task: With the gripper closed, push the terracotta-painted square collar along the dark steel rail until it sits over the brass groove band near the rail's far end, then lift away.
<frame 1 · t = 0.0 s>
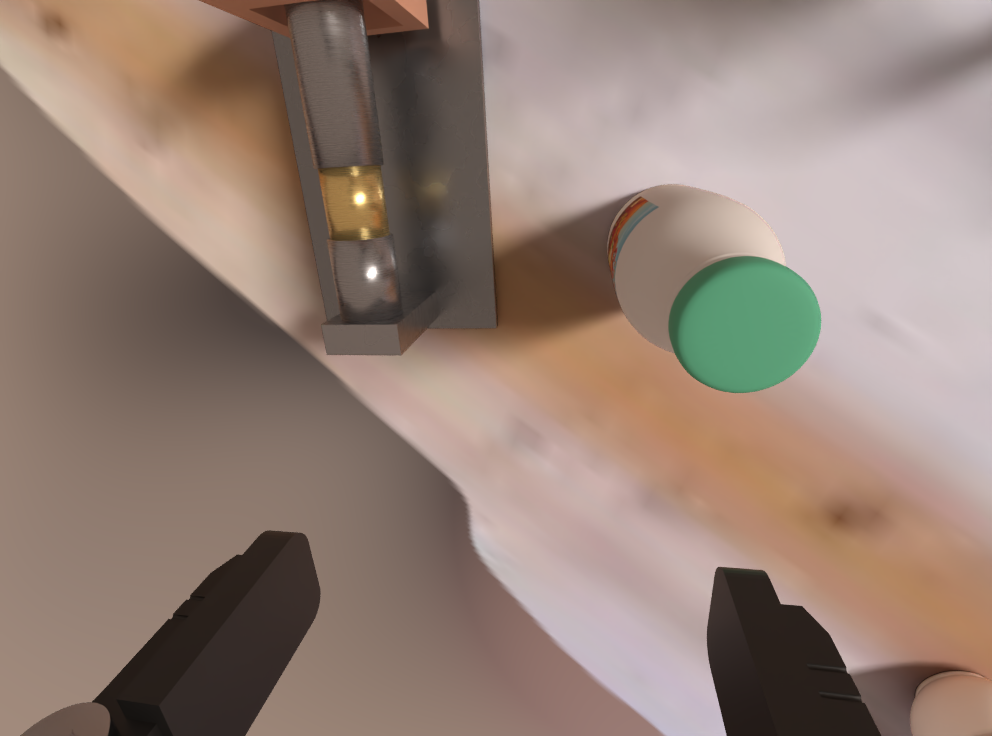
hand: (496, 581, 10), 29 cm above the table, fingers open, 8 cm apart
lidded jar: (952, 692, 45), on the table
milk bottle: (662, 242, 35), on the table
rail: (384, 103, 34), on the table
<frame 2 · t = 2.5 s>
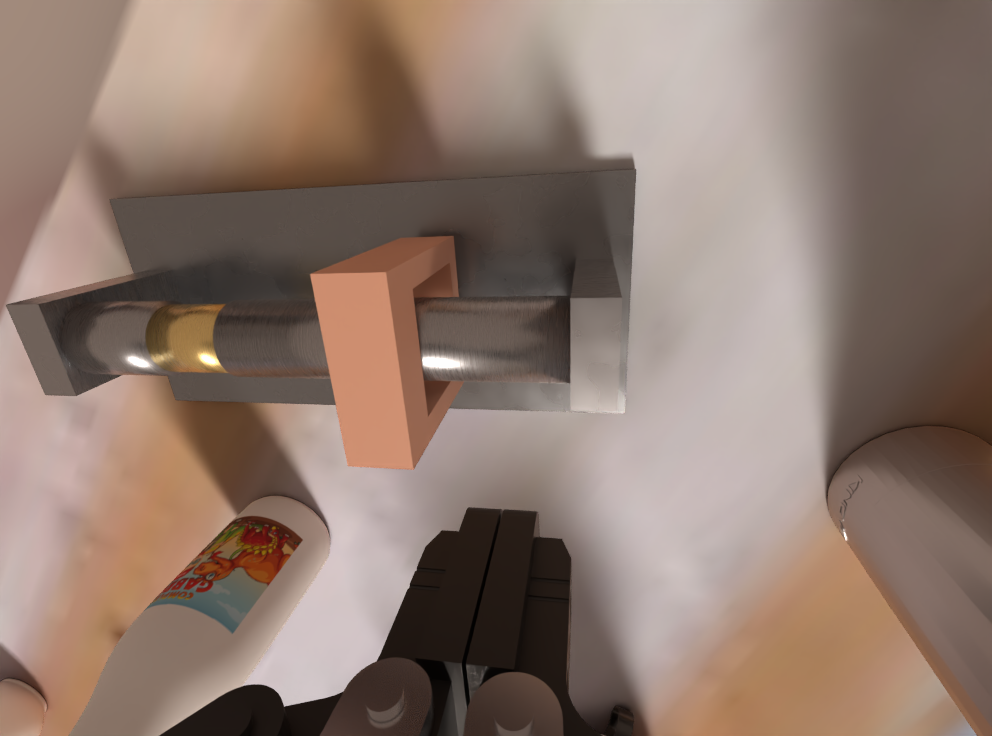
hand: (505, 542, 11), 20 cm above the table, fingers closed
lidded jar: (25, 694, 58), on the table
collar: (406, 338, 24), point 7 cm above the table, slide at 0.0 cm
milk bottle: (290, 529, 41), on the table
rail: (368, 302, 31), on the table
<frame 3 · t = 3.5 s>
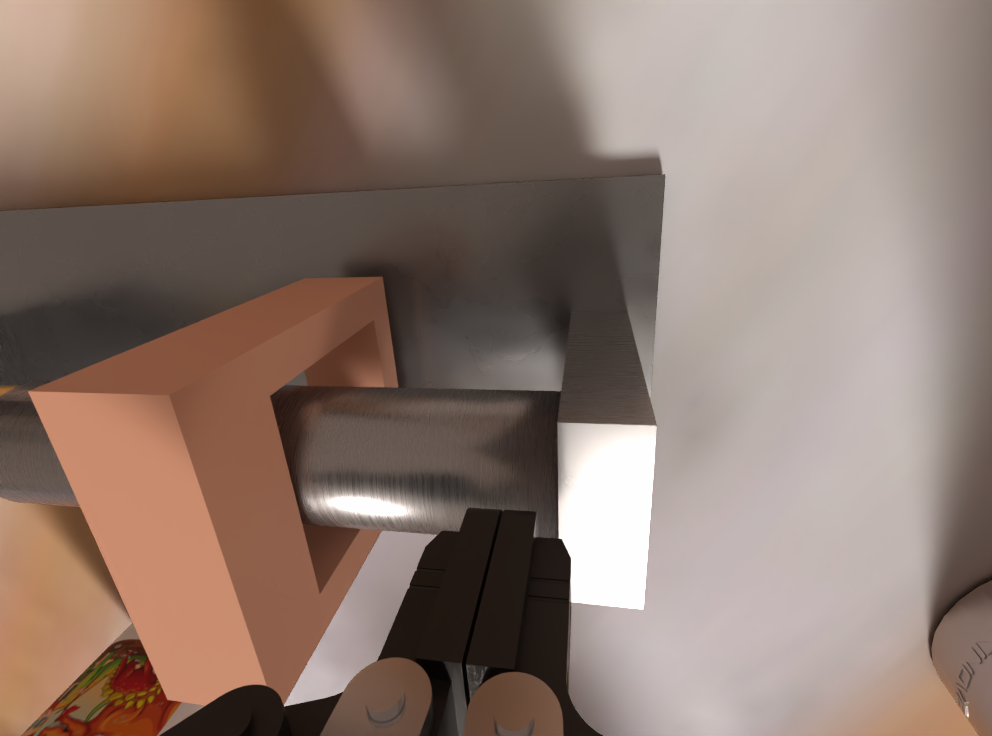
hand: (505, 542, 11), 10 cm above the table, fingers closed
collar: (293, 451, 15), point 7 cm above the table, slide at 0.0 cm
milk bottle: (202, 640, 31), on the table
rail: (276, 363, 22), on the table
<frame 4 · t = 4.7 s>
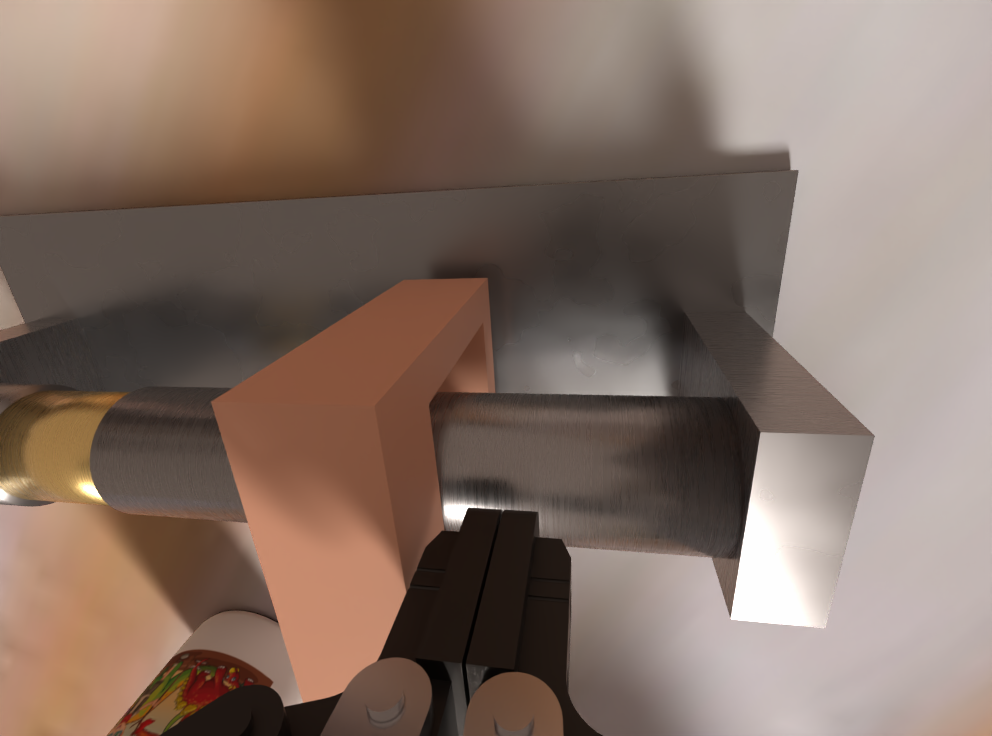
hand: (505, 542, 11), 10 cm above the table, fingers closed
collar: (414, 460, 14), point 7 cm above the table, slide at 0.2 cm, touching gripper
milk bottle: (261, 649, 31), on the table
rail: (361, 367, 21), on the table
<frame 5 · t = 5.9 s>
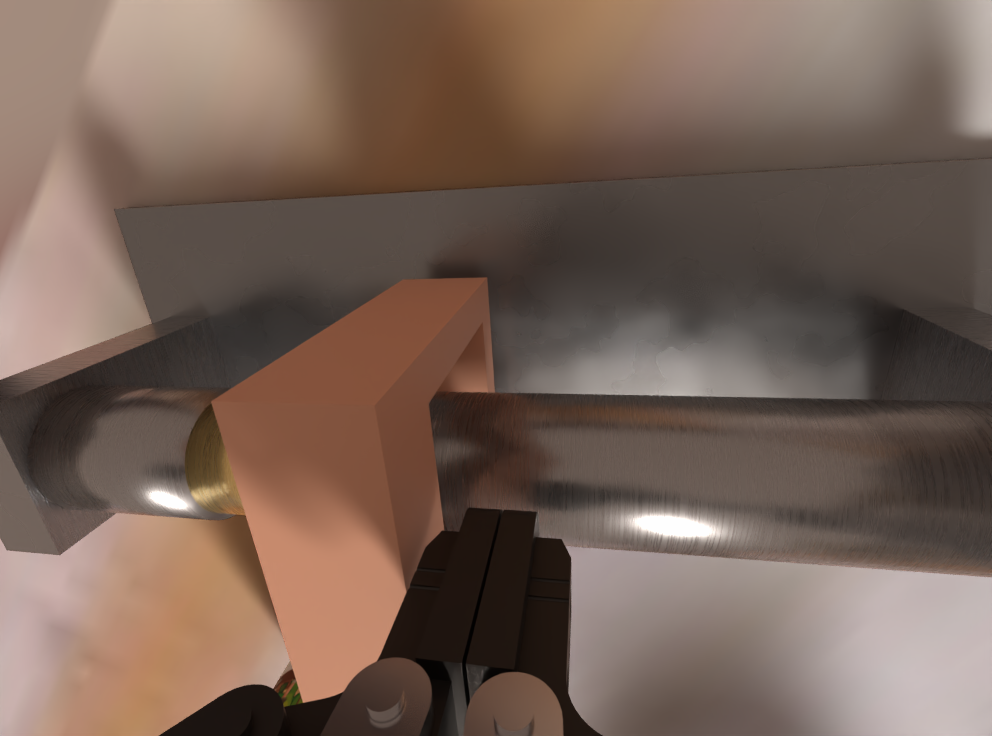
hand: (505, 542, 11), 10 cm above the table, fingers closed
collar: (414, 459, 14), point 7 cm above the table, slide at 7.1 cm, touching gripper
milk bottle: (365, 662, 29), on the table
rail: (518, 368, 20), on the table
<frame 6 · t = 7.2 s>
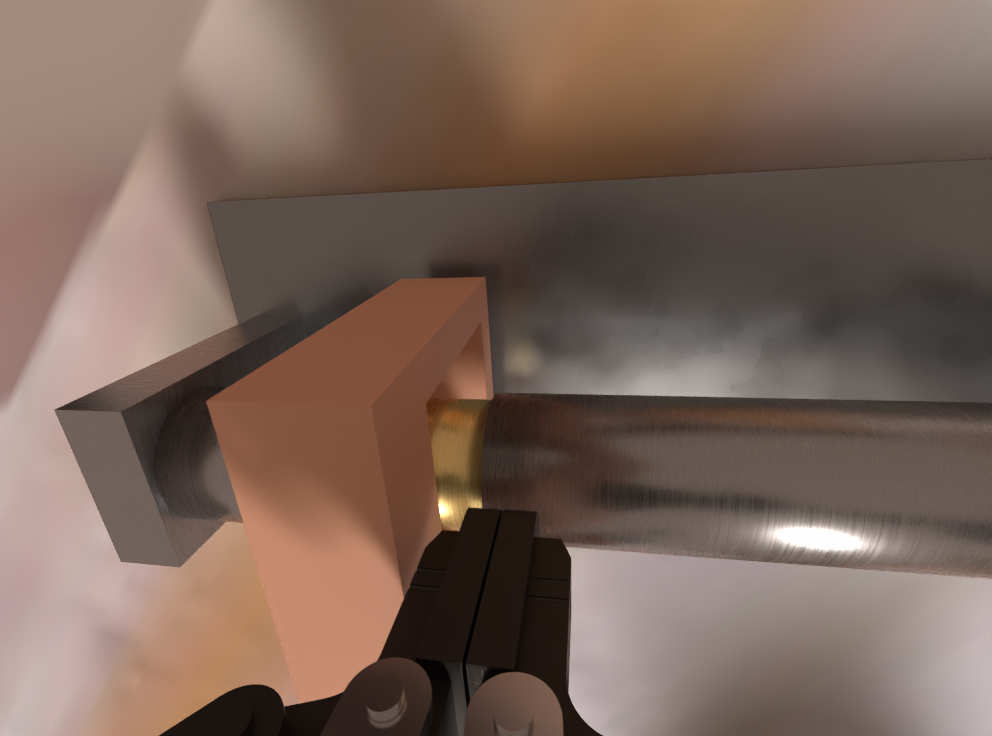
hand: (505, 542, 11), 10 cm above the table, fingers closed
collar: (411, 459, 14), point 7 cm above the table, slide at 11.5 cm, touching gripper
rail: (627, 369, 19), on the table
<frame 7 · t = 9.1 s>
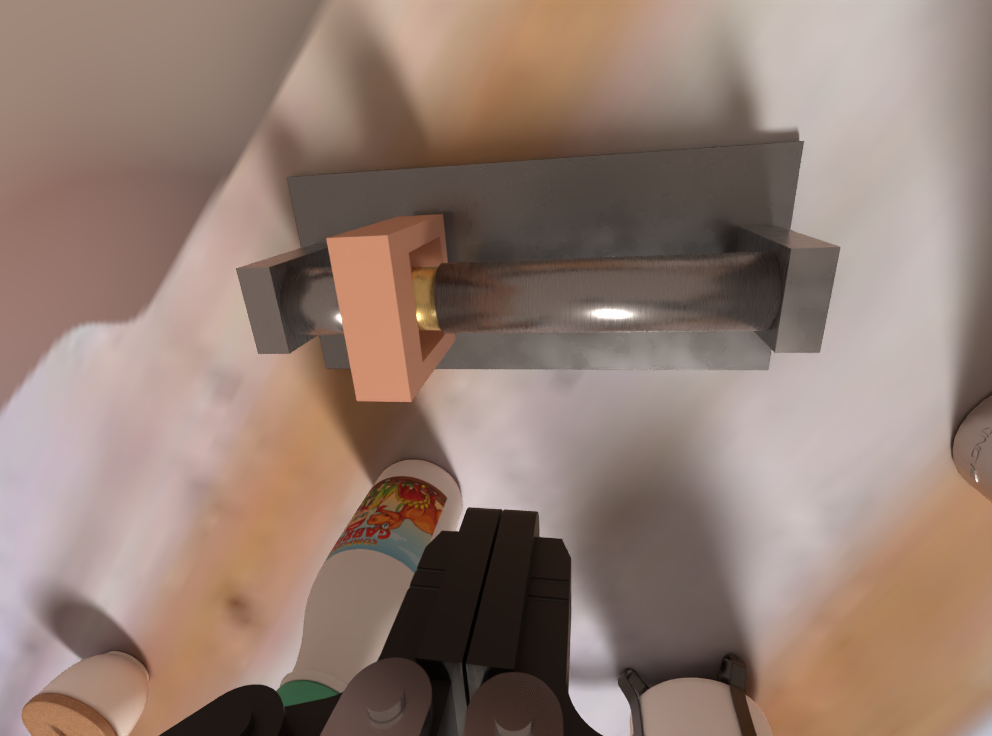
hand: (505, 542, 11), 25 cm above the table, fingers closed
lidded jar: (127, 666, 61), on the table
collar: (403, 299, 29), point 7 cm above the table, slide at 11.5 cm
coffee press: (679, 702, 48), on the table
milk bottle: (421, 492, 43), on the table
rail: (527, 271, 34), on the table
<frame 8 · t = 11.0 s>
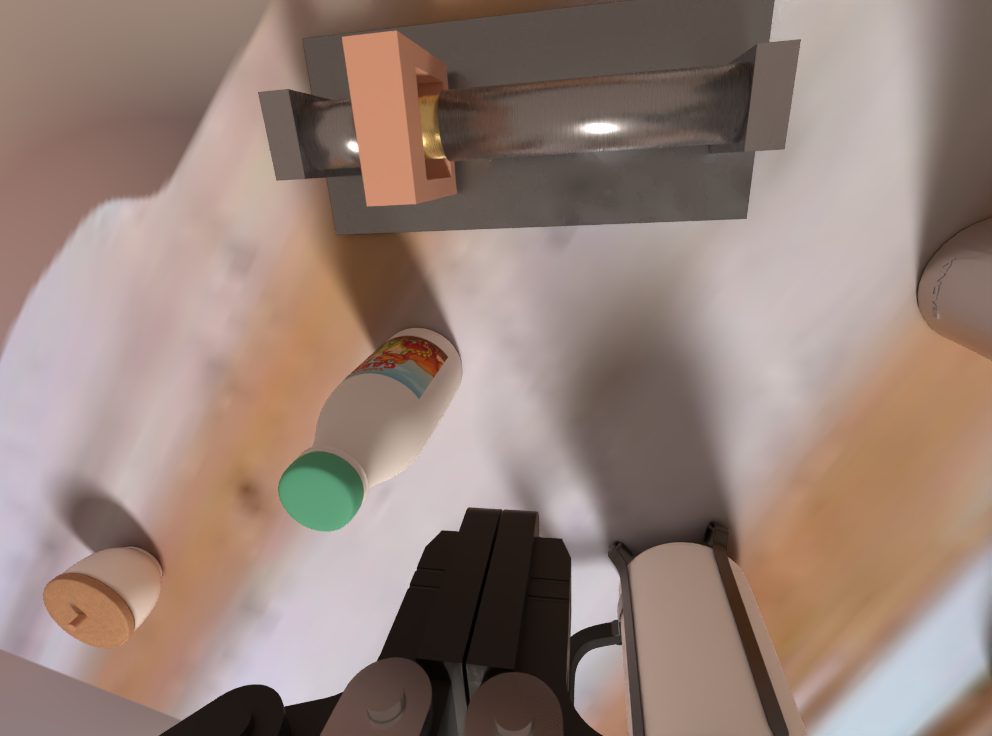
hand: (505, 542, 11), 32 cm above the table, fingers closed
lidded jar: (142, 563, 64), on the table
collar: (409, 129, 31), point 7 cm above the table, slide at 11.5 cm
coffee press: (666, 577, 50), on the table
milk bottle: (424, 364, 46), on the table
rail: (524, 128, 37), on the table
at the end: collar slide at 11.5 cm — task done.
